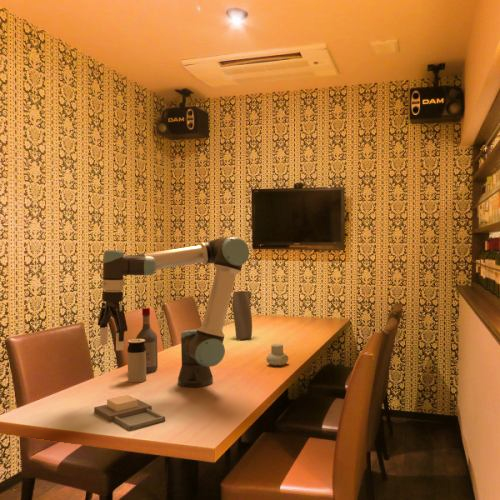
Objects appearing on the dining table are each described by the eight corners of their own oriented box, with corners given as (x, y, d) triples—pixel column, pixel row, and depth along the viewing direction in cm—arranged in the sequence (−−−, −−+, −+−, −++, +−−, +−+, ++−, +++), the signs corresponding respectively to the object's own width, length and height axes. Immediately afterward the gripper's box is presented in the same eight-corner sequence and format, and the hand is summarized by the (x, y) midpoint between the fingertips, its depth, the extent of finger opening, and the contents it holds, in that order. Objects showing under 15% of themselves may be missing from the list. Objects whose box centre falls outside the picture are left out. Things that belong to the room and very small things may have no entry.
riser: (134, 403, 191) (134, 398, 191) (151, 411, 181) (151, 406, 181) (94, 412, 181) (94, 407, 181) (109, 422, 171) (109, 416, 171)
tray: (148, 412, 180) (148, 408, 180) (165, 421, 171) (165, 416, 171) (114, 421, 172) (114, 416, 172) (130, 430, 162) (130, 426, 162)
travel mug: (138, 383, 218) (138, 342, 218) (124, 381, 222) (123, 341, 221) (149, 379, 225) (149, 339, 225) (135, 377, 229) (134, 338, 229)
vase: (243, 341, 310) (242, 293, 309) (229, 339, 318) (228, 292, 318) (256, 338, 318) (255, 291, 318) (242, 336, 327) (241, 290, 327)
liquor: (155, 372, 237) (153, 309, 236) (135, 373, 237) (134, 309, 236) (158, 368, 246) (157, 307, 246) (139, 368, 246) (138, 307, 245)
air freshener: (278, 368, 242) (277, 347, 242) (264, 365, 247) (263, 345, 247) (290, 363, 250) (290, 343, 250) (276, 361, 255) (276, 342, 255)
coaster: (127, 401, 187) (127, 394, 187) (137, 406, 181) (137, 399, 181) (107, 406, 182) (107, 399, 182) (116, 411, 176) (116, 404, 176)
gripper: (89, 289, 197) (88, 343, 196) (118, 293, 178) (117, 353, 177) (107, 288, 201) (106, 341, 201) (137, 293, 183) (136, 351, 182)
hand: (111, 347), depth 189 cm, fingers open, 13 cm apart
